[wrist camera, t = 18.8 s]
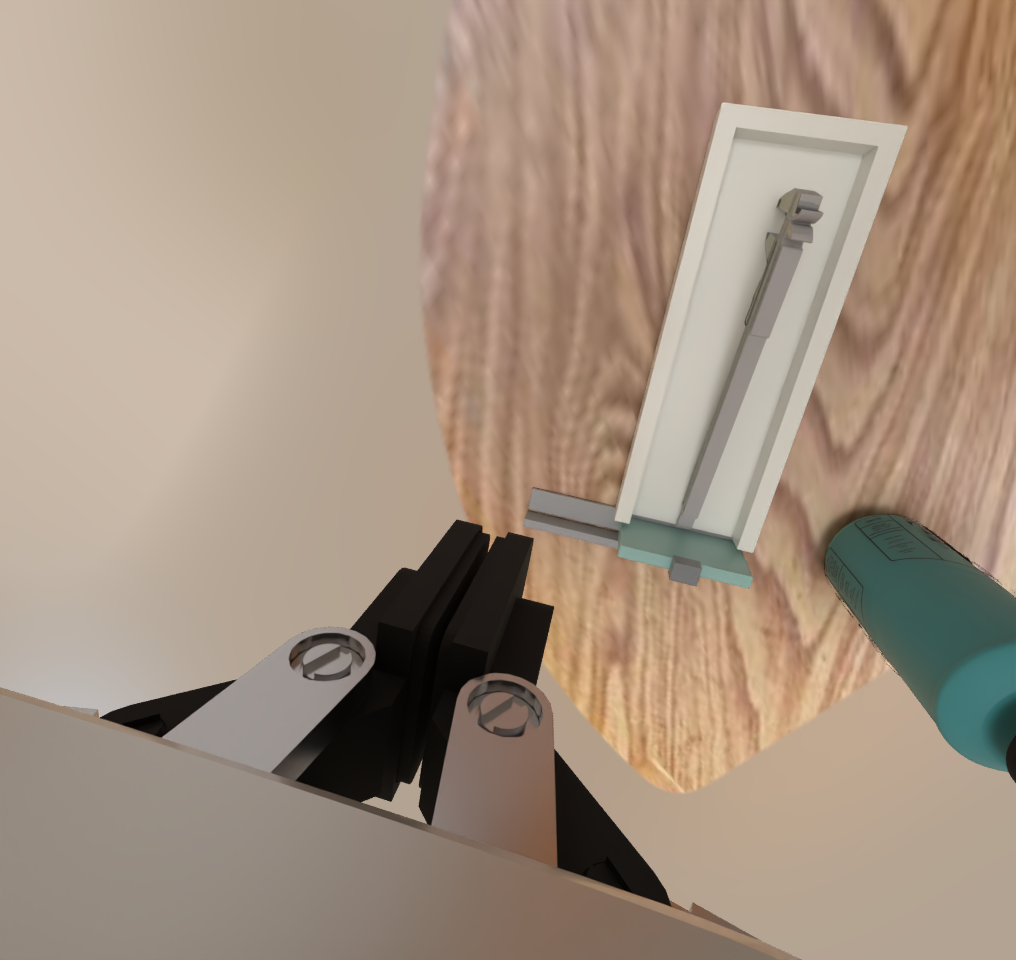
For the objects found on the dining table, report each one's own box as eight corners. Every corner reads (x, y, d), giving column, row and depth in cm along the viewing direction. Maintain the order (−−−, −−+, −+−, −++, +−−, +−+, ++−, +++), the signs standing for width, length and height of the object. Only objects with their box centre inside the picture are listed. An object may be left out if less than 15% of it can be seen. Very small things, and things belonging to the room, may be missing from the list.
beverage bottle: (795, 571, 38) (959, 839, 19) (843, 485, 35) (1082, 696, 17) (891, 604, 37) (1156, 914, 18) (946, 519, 35) (1313, 776, 16)
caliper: (776, 198, 31) (811, 175, 25) (796, 201, 31) (836, 178, 25) (675, 523, 38) (683, 565, 32) (691, 527, 38) (702, 570, 32)
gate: (738, 539, 37) (758, 582, 32) (733, 555, 38) (751, 600, 32) (622, 512, 38) (621, 549, 33) (618, 528, 39) (616, 566, 33)
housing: (886, 139, 29) (908, 126, 27) (734, 567, 38) (741, 584, 36) (608, 103, 31) (607, 87, 29) (527, 517, 41) (521, 531, 38)
